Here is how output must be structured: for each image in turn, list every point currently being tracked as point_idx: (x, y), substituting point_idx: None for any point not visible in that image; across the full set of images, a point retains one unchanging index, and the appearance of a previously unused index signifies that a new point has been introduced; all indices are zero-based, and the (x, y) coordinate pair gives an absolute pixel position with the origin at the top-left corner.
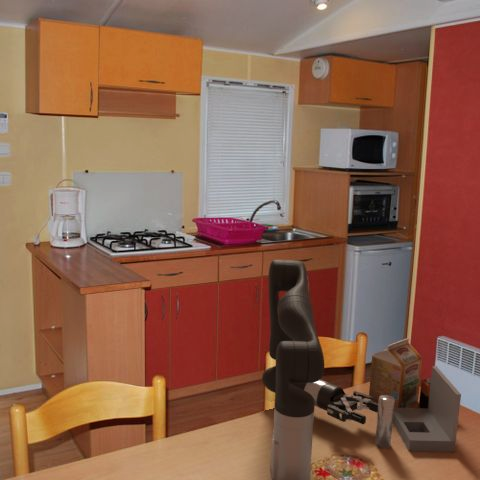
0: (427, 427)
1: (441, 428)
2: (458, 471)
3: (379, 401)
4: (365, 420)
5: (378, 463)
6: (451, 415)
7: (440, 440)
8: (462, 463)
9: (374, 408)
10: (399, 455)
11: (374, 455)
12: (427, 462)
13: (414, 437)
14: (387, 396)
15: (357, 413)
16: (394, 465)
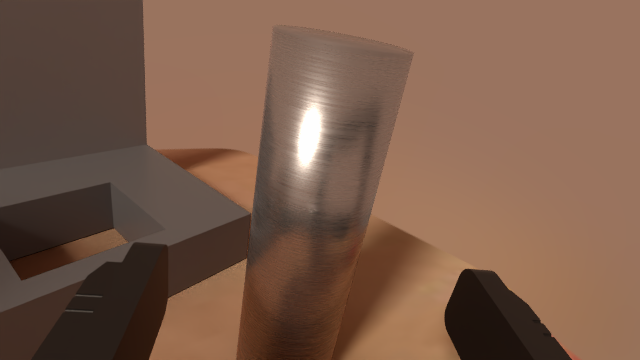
0: (51, 194)
1: (34, 164)
2: (252, 164)
3: (402, 80)
4: (457, 292)
5: (439, 300)
6: (118, 47)
7: (164, 159)
8: (200, 162)
9: (140, 348)
10: None
11: (412, 337)
12: None
13: (208, 207)
14: (301, 33)
15: (529, 330)
16: (387, 261)
